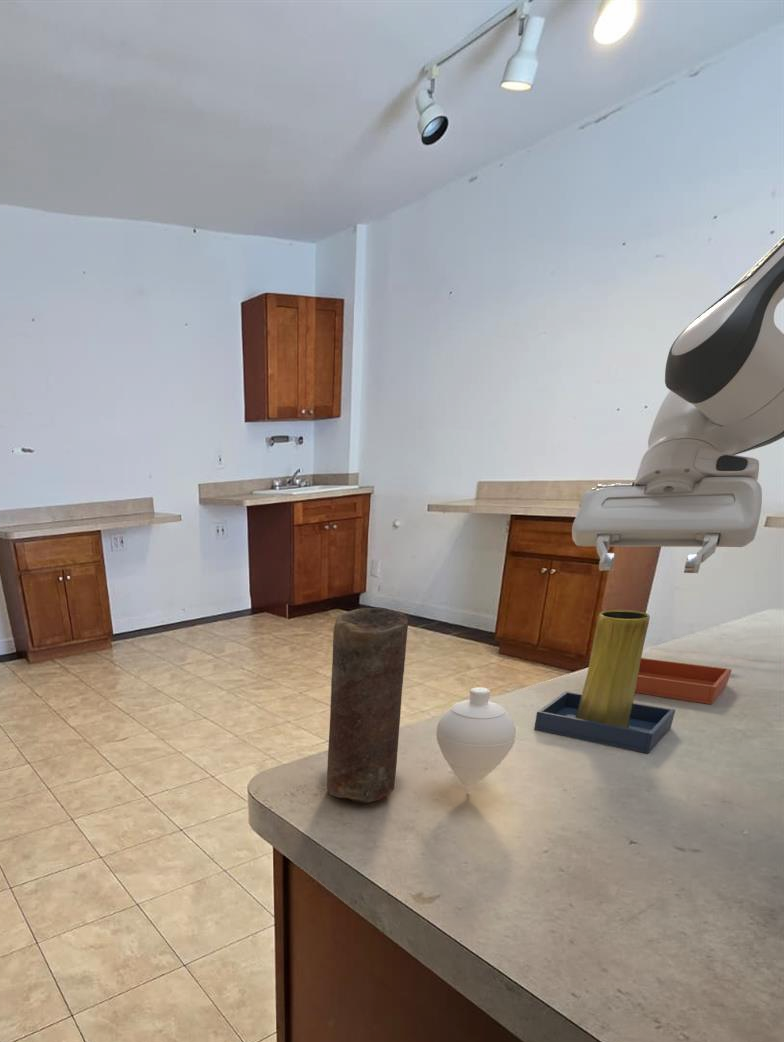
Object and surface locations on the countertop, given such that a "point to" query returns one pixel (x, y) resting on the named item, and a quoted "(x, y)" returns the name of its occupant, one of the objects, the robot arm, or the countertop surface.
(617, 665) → the vase
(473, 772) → the spinning top
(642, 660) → the terracotta tray
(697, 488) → the robot arm
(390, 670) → the candle
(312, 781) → the countertop surface
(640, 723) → the blue tray
